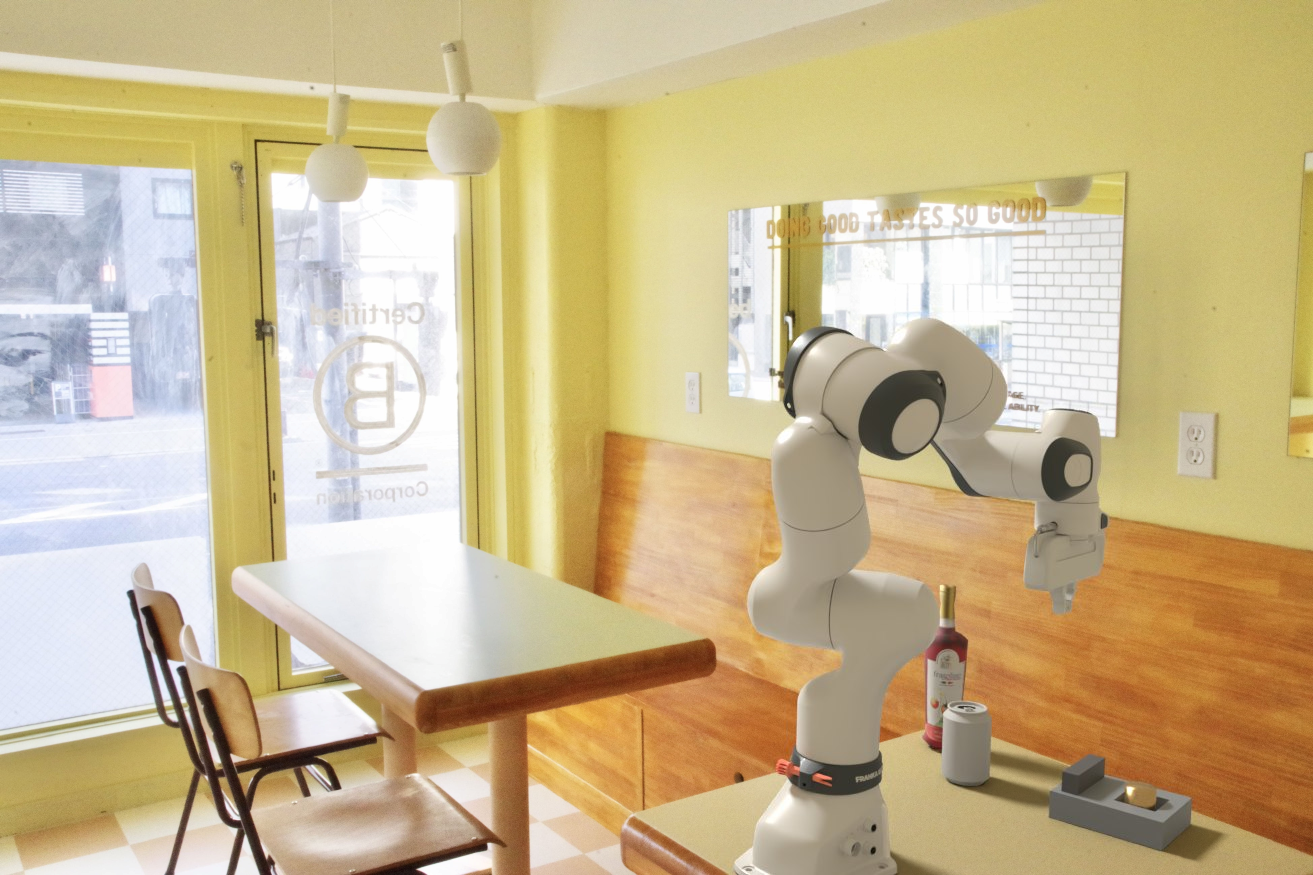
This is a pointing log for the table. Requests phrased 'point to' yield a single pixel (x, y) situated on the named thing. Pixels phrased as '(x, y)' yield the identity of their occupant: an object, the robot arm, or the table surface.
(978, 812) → the table surface
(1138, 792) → the gold cylinder puck
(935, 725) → the liquor
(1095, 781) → the frame
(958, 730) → the can
